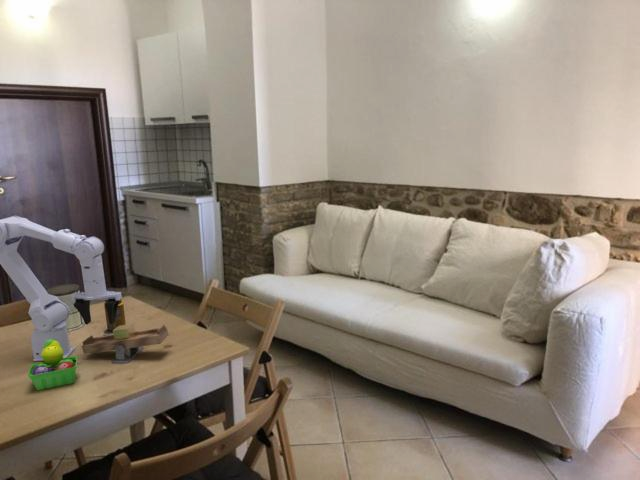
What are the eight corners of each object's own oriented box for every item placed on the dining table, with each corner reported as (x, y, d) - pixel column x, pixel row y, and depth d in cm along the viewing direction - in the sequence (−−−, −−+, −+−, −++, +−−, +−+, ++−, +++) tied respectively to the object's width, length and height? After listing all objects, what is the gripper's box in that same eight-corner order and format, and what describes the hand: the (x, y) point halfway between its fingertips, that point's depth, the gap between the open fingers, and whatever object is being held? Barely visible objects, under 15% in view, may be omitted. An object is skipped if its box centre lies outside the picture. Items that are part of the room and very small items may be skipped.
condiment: (129, 324, 176) (125, 291, 173) (125, 333, 168) (121, 299, 165) (107, 326, 175) (102, 293, 172) (102, 335, 166) (97, 301, 164)
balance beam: (84, 356, 148) (80, 343, 147) (96, 346, 155) (92, 334, 154) (160, 345, 145) (157, 332, 144) (169, 336, 152) (166, 323, 151)
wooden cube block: (116, 343, 148) (112, 330, 147) (122, 337, 152) (118, 325, 151) (130, 341, 147) (126, 328, 147) (136, 335, 151) (132, 323, 150)
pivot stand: (111, 363, 146) (109, 346, 145) (128, 348, 156) (126, 332, 155) (128, 363, 145) (126, 346, 144) (143, 348, 156) (141, 332, 154)
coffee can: (46, 328, 175) (40, 289, 172) (75, 319, 183) (69, 282, 180) (61, 334, 169) (55, 294, 166) (90, 324, 177) (85, 286, 174)
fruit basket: (30, 394, 130) (23, 353, 127) (34, 379, 138) (28, 341, 135) (79, 384, 134) (73, 344, 132) (80, 370, 142) (74, 333, 140)
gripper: (62, 283, 143) (69, 328, 146) (110, 282, 142) (117, 327, 145) (76, 276, 150) (82, 319, 153) (122, 275, 149) (128, 318, 151)
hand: (100, 322), depth 149 cm, fingers open, 7 cm apart
